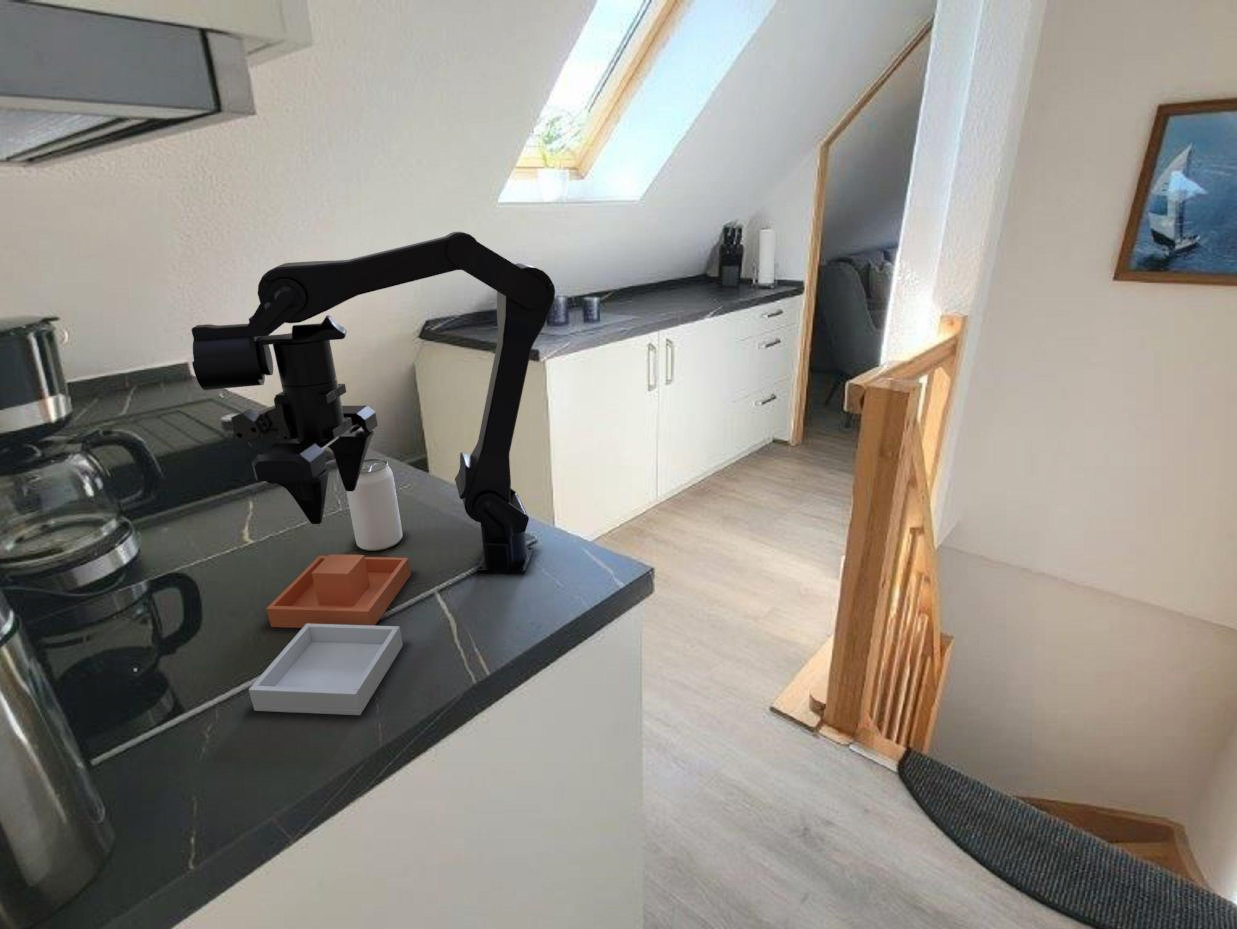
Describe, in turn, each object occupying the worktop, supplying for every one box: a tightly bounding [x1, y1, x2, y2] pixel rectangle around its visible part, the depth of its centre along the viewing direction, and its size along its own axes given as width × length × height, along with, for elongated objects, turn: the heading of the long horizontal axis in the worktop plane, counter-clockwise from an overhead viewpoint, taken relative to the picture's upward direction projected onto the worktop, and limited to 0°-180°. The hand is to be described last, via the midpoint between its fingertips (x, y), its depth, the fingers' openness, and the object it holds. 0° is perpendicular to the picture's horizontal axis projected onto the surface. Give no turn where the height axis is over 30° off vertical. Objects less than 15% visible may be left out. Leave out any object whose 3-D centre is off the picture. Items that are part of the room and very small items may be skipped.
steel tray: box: [248, 624, 404, 716], centre depth 67 cm, size 11×11×3 cm
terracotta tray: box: [266, 555, 412, 629], centre depth 81 cm, size 12×12×3 cm
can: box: [345, 457, 403, 552], centre depth 93 cm, size 6×6×12 cm
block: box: [312, 553, 370, 606], centre depth 80 cm, size 4×4×4 cm
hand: (334, 506), depth 79 cm, fingers open, 9 cm apart
